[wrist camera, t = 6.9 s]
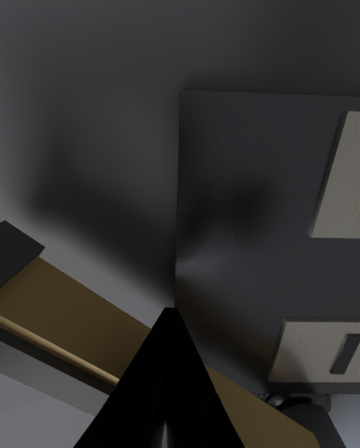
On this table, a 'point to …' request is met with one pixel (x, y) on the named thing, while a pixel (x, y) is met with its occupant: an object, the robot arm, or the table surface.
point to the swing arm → (111, 350)
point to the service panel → (271, 240)
